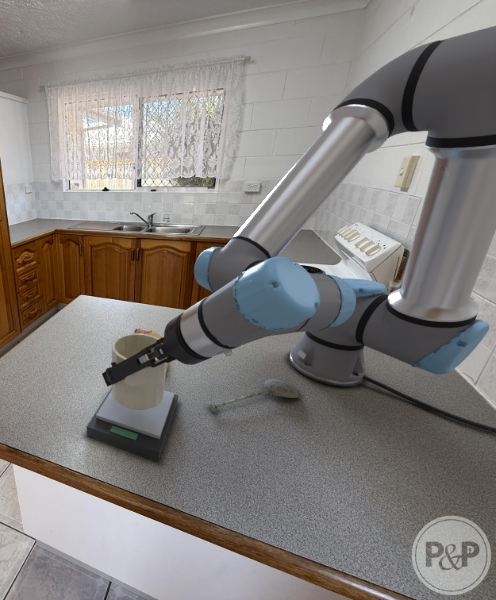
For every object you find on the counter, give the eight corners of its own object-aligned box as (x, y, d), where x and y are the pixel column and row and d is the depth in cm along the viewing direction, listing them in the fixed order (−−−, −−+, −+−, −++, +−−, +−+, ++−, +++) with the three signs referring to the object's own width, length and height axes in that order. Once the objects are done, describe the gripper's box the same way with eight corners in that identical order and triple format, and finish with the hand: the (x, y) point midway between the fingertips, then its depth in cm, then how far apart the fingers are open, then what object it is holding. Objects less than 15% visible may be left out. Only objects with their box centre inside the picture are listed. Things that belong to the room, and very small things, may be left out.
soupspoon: (305, 401, 68) (280, 384, 74) (309, 388, 67) (283, 372, 73) (220, 421, 62) (201, 401, 68) (223, 407, 61) (203, 388, 67)
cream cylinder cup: (168, 385, 64) (172, 339, 60) (155, 419, 56) (159, 368, 52) (122, 373, 68) (123, 329, 64) (103, 403, 60) (103, 354, 56)
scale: (177, 403, 67) (178, 391, 66) (158, 462, 54) (159, 448, 53) (117, 386, 73) (117, 375, 72) (86, 436, 60) (86, 423, 58)
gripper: (151, 386, 38) (87, 410, 56) (259, 334, 49) (177, 368, 68) (125, 331, 40) (71, 371, 58) (235, 293, 51) (161, 337, 70)
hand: (128, 369), depth 63 cm, fingers closed on cream cylinder cup, 10 cm apart
